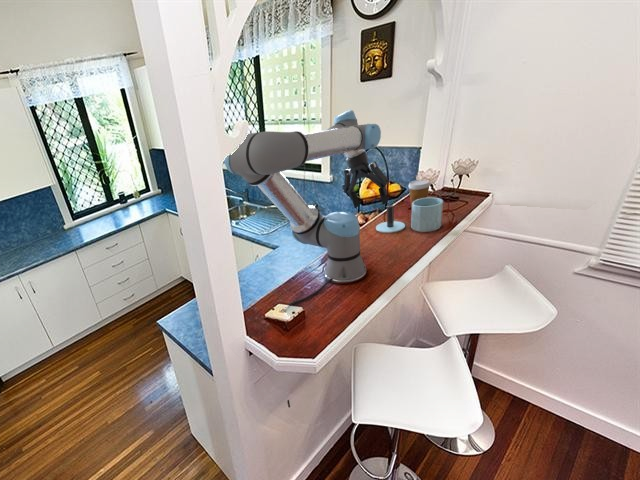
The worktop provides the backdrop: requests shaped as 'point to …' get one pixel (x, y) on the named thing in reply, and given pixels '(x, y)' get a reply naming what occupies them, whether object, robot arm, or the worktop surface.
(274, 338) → the worktop surface
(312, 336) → the worktop surface
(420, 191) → the disposable coffee cup
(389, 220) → the lid
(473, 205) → the worktop surface
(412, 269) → the worktop surface
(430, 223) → the light blue pot
